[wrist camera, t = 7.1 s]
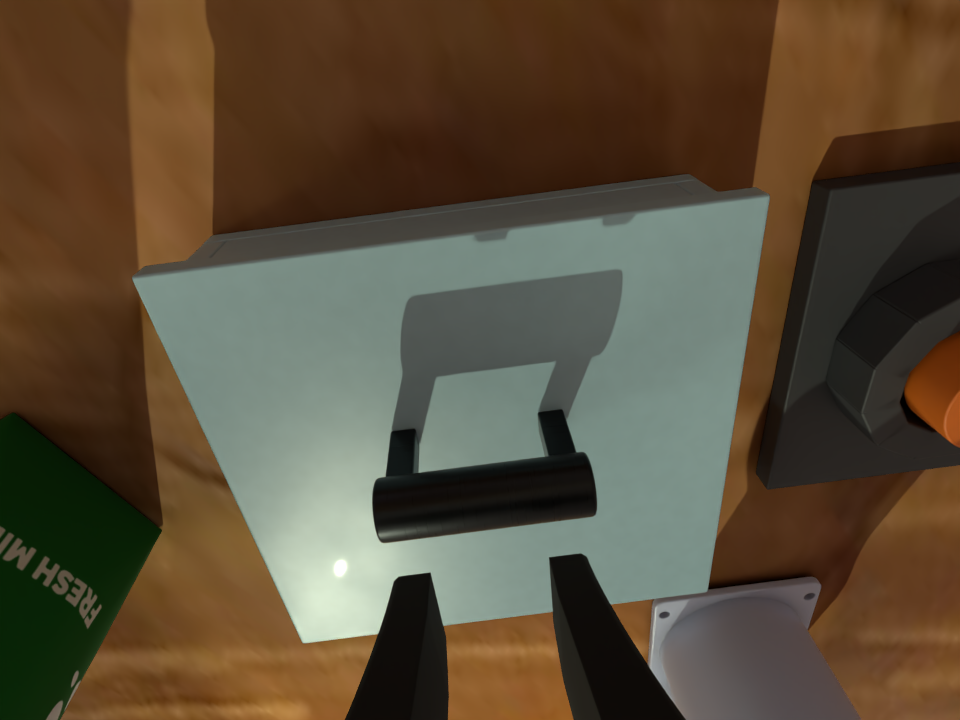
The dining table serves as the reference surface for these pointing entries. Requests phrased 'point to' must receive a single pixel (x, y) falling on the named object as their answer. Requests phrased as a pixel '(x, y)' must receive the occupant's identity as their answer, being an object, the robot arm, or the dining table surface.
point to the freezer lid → (474, 402)
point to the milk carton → (57, 570)
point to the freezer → (451, 215)
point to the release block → (864, 328)
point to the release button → (938, 389)
